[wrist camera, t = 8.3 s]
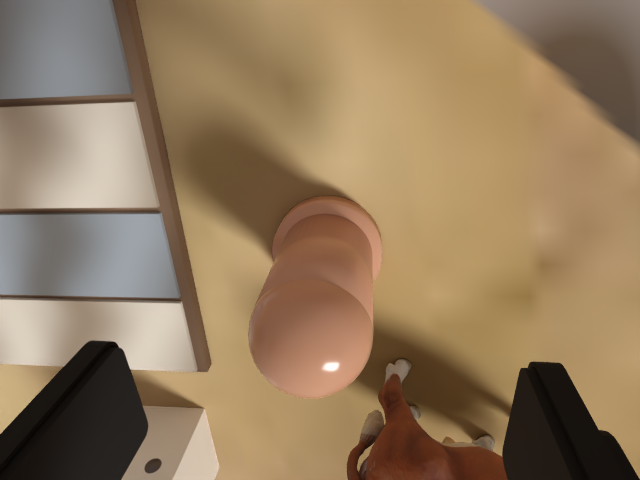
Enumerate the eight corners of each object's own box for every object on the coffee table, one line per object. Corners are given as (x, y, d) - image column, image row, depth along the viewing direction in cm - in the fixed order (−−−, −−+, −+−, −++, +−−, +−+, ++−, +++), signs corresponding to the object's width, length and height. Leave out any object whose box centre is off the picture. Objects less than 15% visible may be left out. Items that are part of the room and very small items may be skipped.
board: (-10, 355, 23) (-22, 364, 23) (-196, -17, 16) (-224, -20, 15) (211, 363, 22) (206, 374, 21) (125, -45, 14) (112, -49, 13)
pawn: (281, 289, 19) (230, 433, 12) (271, 196, 17) (204, 303, 10) (380, 291, 19) (387, 442, 12) (382, 194, 17) (391, 307, 10)
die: (144, 461, 26) (97, 547, 22) (123, 403, 24) (66, 486, 20) (219, 465, 26) (188, 555, 21) (205, 407, 24) (166, 493, 19)
